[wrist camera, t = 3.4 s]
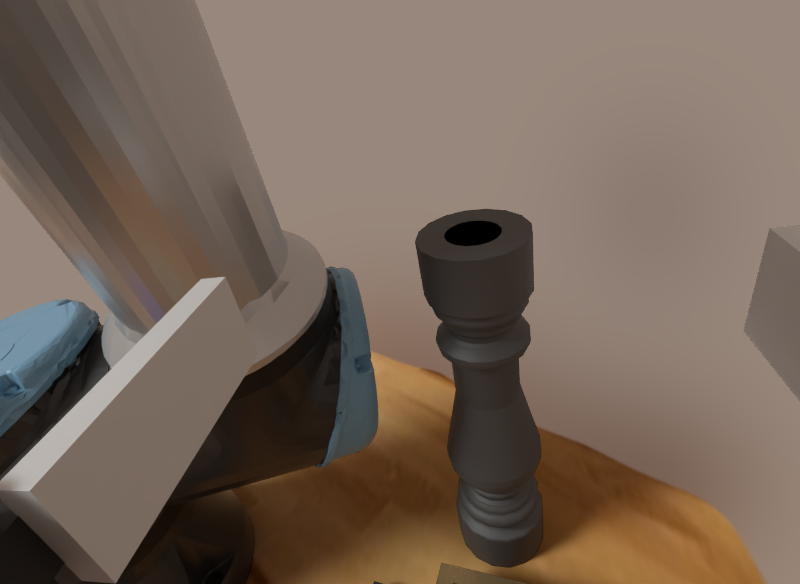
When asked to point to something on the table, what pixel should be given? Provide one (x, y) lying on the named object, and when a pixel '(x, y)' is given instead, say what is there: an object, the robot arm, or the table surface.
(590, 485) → the table surface
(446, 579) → the square socket fixture
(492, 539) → the candle holder
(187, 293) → the robot arm
